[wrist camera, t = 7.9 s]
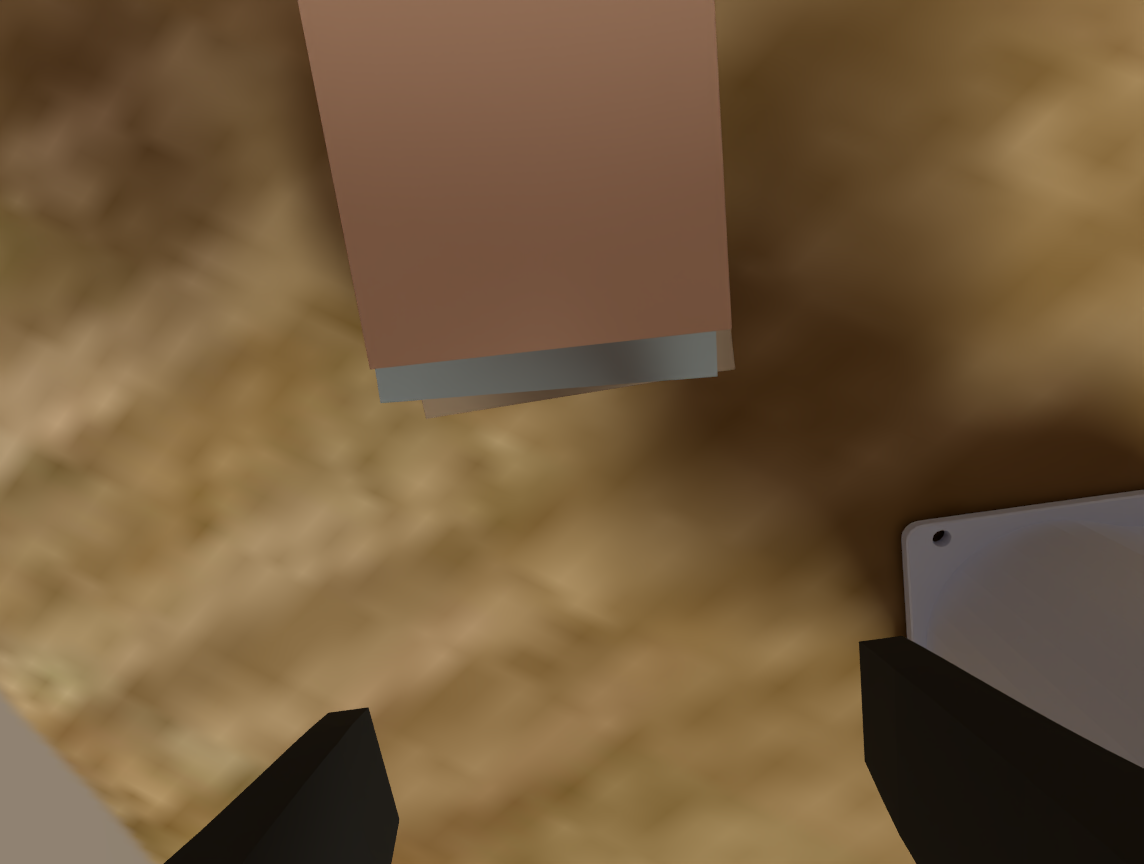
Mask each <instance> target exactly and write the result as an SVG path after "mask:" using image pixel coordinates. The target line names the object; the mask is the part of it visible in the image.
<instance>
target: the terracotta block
mask: <svg viewBox="0 0 1144 864" xmlns="http://www.w3.org/2000/svg"><path fill="white" fill-rule="evenodd" d="M298 5H299V10H300V15H301V21H302V26H303V31H304V36H305V41H306V46H307V51H308V56H309V61H310V66H311V71H312V76H313V82H314V87H315V92H316V97H317V102H318V107H319V112H320V117H321V122H322V127H323V132H324V137H325V143H326V148H327V153H328V158H329V163H330V168H331V173H332V178H333V183H334V188H335V193H336V198H337V204H338V209H339V214H340V219H341V224H342V229H343V234H344V239H345V244H346V249H347V254H348V259H349V265H350V270H351V275H352V280H353V285H354V290H355V295H356V300H357V305H358V310H359V315H360V321H361V326H362V331H363V336H364V341H365V346H366V351H367V356H368V361H369V366H370V369H378V368H387V367H396V366H405V365H414V364H423V363H432V362H441V361H450V360H459V359H468V358H477V357H486V356H495V355H504V354H513V353H522V352H531V351H540V350H549V349H558V348H567V347H576V346H585V345H594V344H603V343H612V342H621V341H630V340H639V339H648V338H657V337H666V336H675V335H684V334H693V333H702V332H711V331H720V330H729V329H732V321H731V303H730V284H729V265H728V246H727V227H726V209H725V190H724V171H723V152H722V133H721V115H720V96H719V77H718V58H717V40H716V21H715V2H714V0H298Z"/></svg>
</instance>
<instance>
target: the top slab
mask: <svg viewBox="0 0 1144 864" xmlns="http://www.w3.org/2000/svg"><path fill="white" fill-rule="evenodd" d="M375 371H376V377H377V383H378V390H379V396H380V402H381V403H387V402H400V401H413V400H425V399H438V398H451V397H463V396H476V395H489V394H501V393H514V392H527V391H539V390H552V389H565V388H577V387H590V386H603V385H615V384H628V383H641V382H653V381H666V380H679V379H691V378H704V377H716V376H718V375H717V346H716V331H711V332H702V333H693V334H684V335H675V336H666V337H657V338H648V339H639V340H630V341H621V342H612V343H603V344H594V345H585V346H576V347H567V348H558V349H549V350H540V351H531V352H522V353H513V354H504V355H495V356H486V357H477V358H468V359H459V360H450V361H441V362H432V363H423V364H414V365H405V366H396V367H387V368H378V369H375Z"/></svg>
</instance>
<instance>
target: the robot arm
mask: <svg viewBox="0 0 1144 864" xmlns="http://www.w3.org/2000/svg"><path fill="white" fill-rule="evenodd" d="M941 530H944V535H943V537H942V538H941V539H940V540H938V541H936V542H935V541H933V536H934V534H935V533H936V532H938V531H941ZM901 542H902V559H903V576H904V593H905V610H906V628H907V638H905V637H903V636H898V637H891V638H883V639H876V640H868V641H861V642H859V650H860V671H861V692H862V713H863V734H864V755H865V762H866V765H867V767H868V769H869V771H870V773H871V775H872V778H873V780H874V782H875V784H876V786H877V789H878V791H879V793H880V795H881V797H882V800H883V802H884V804H885V806H886V808H887V810H888V812H889V814H890V816H891V818H892V820H893V822H894V825H895V827H896V829H897V831H898V833H899V835H900V837H901V838H902V840H903V842H904V843H905V845H906V847H907V849H908V850H909V852H910V854H911V855H912V857H913V859H914V860H915V862H916V864H1144V490H1137V491H1129V492H1122V493H1115V494H1108V495H1101V496H1093V497H1086V498H1079V499H1072V500H1064V501H1057V502H1050V503H1043V504H1035V505H1028V506H1021V507H1014V508H1007V509H999V510H992V511H985V512H978V513H970V514H963V515H956V516H949V517H941V518H934V519H927V520H920V521H915V522H912V523H910V524H909V525H908V526H906V527H905V529H904V531H903V532H902V537H901ZM398 824H399V816H398V813H397V809H396V806H395V802H394V798H393V795H392V791H391V787H390V784H389V780H388V777H387V773H386V769H385V766H384V762H383V759H382V755H381V751H380V748H379V744H378V741H377V737H376V733H375V730H374V726H373V723H372V719H371V715H370V712H369V708H361V709H354V710H346V711H339V712H331V713H328V714H327V715H325V716H324V717H323V718H322V719H321V720H319V721H318V722H317V723H316V724H315V725H314V726H312V727H311V728H310V729H309V730H308V731H307V732H306V733H305V734H304V735H303V736H301V737H300V738H299V739H298V740H297V741H296V742H295V743H294V744H293V745H292V746H291V747H290V748H289V749H287V750H286V751H285V752H284V753H283V754H282V755H281V756H280V757H279V758H278V759H277V760H276V761H275V762H274V763H273V764H272V765H271V766H270V767H268V768H267V769H266V770H265V771H264V772H263V773H262V774H261V775H260V776H259V777H258V778H257V779H256V780H255V781H254V782H253V783H252V784H250V785H249V786H248V787H247V788H246V789H245V790H244V791H243V792H242V793H241V794H240V795H239V796H238V797H237V798H235V799H234V800H233V801H232V802H231V803H230V804H229V805H228V806H227V807H226V808H225V809H224V810H223V811H222V812H221V813H219V814H218V815H217V816H216V817H215V818H214V819H213V820H212V821H211V822H210V823H209V824H208V825H207V826H206V827H204V828H203V829H202V830H201V831H200V832H199V833H198V834H197V835H196V836H194V837H193V838H192V839H191V840H190V841H189V842H188V843H187V844H185V845H184V846H183V847H182V848H181V849H180V850H179V851H177V852H176V853H175V854H174V855H173V856H172V857H171V858H169V859H168V860H167V861H166V862H165V863H164V864H391V862H392V857H393V851H394V846H395V840H396V835H397V830H398Z"/></svg>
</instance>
